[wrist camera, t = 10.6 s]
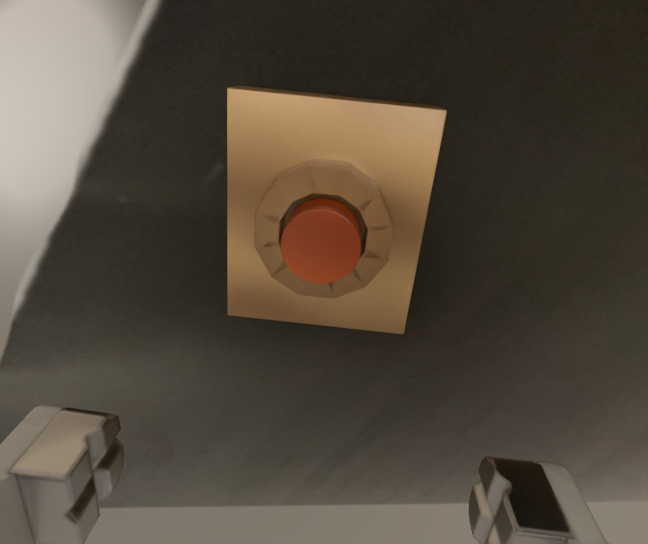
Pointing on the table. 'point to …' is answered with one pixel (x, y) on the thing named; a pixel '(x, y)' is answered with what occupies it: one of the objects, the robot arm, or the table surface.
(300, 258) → the red button
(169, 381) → the table surface
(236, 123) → the button block
